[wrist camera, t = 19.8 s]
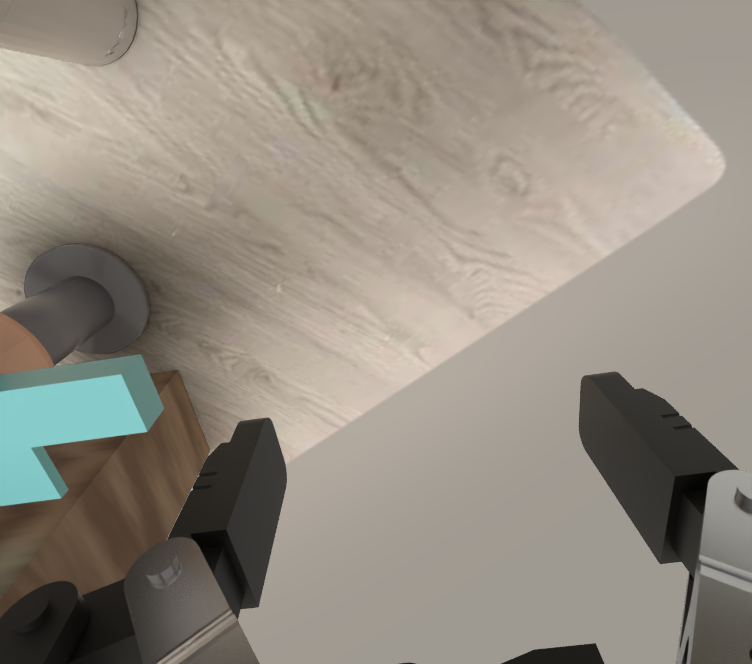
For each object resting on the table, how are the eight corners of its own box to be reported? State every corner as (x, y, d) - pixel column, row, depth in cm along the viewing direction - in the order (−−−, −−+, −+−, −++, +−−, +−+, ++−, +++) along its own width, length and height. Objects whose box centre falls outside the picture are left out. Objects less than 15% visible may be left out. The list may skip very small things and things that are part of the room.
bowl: (18, 309, 49) (-216, 434, 29) (57, 219, 45) (-185, 294, 25) (123, 366, 52) (-25, 513, 32) (169, 286, 48) (30, 399, 28)
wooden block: (119, 462, 58) (-102, 764, 31) (79, 384, 53) (-229, 662, 26) (209, 450, 57) (64, 748, 30) (178, 370, 52) (-31, 640, 25)
